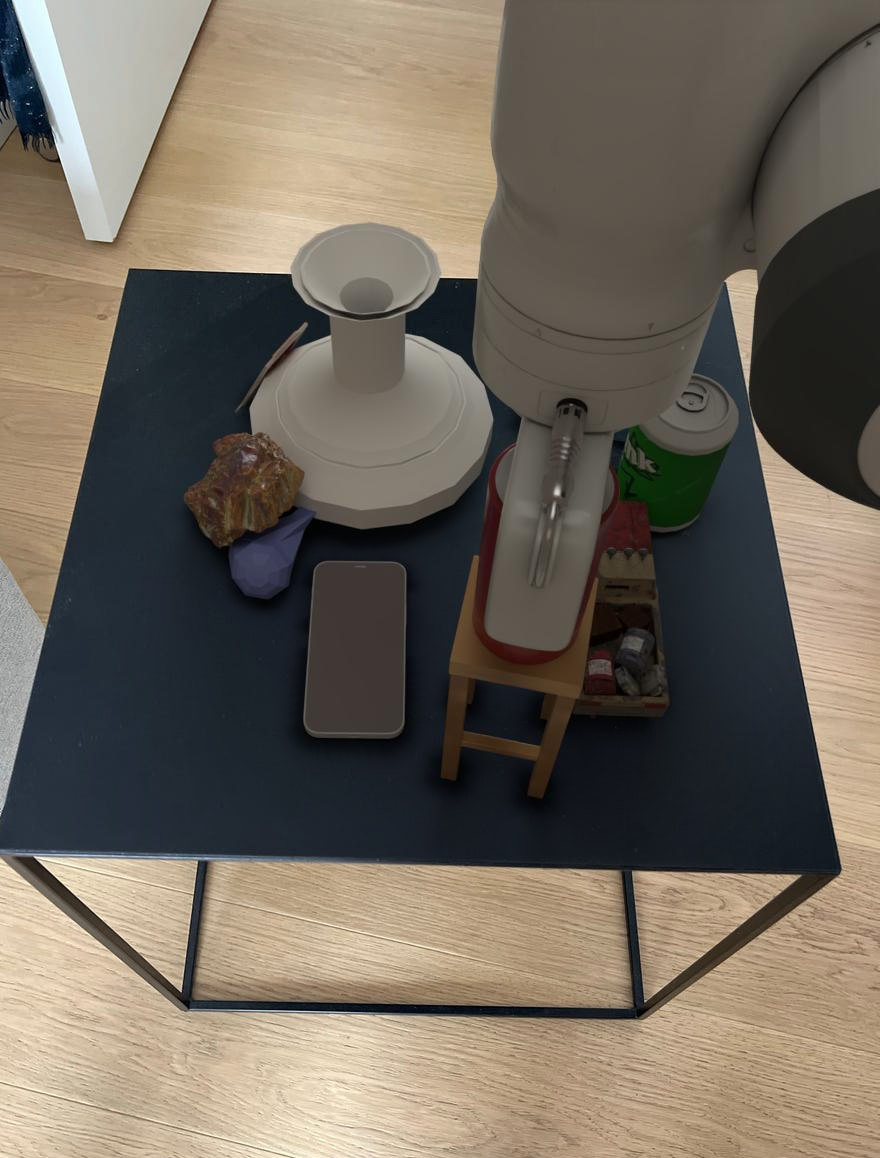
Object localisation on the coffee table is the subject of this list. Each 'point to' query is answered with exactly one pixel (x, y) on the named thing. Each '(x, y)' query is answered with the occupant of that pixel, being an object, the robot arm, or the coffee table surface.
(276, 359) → the decorative emblem
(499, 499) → the red canister
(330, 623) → the smartphone
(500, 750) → the stool
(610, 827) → the coffee table surface
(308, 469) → the candle holder
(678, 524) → the soda can
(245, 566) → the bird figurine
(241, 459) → the mineral specimen
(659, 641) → the toy vehicle
